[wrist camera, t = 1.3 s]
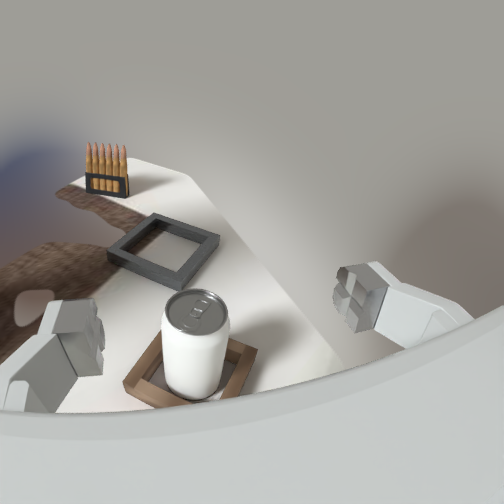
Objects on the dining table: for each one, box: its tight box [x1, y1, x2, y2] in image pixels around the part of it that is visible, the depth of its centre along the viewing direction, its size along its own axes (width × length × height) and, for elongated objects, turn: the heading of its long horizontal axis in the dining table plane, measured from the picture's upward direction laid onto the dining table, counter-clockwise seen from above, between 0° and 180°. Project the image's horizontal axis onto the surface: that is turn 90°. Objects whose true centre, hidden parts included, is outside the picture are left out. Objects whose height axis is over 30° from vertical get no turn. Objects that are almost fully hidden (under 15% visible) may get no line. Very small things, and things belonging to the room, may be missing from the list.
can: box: [161, 289, 230, 400], centre depth 31 cm, size 6×6×12 cm
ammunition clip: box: [85, 142, 129, 198], centre depth 61 cm, size 11×2×12 cm, turn 85°
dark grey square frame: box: [106, 213, 220, 292], centre depth 51 cm, size 14×14×2 cm
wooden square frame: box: [123, 330, 258, 409], centre depth 34 cm, size 12×12×2 cm
